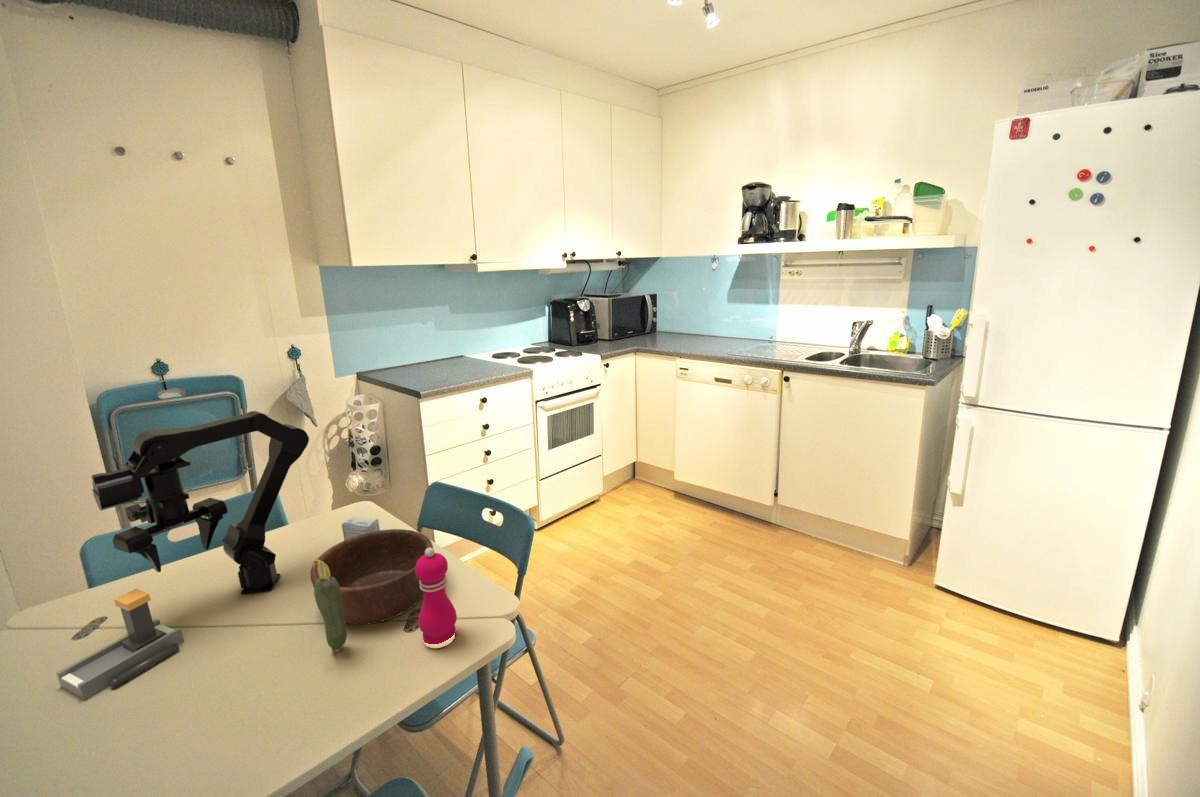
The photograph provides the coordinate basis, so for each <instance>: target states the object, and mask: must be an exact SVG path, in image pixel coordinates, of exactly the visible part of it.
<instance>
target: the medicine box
mask: <svg viewBox="0 0 1200 797" xmlns="http://www.w3.org/2000/svg"><path fill="white" fill-rule="evenodd" d="M379 522H380V521H379V518H374V517H364V516H354V515H353V516H351V517H349V518H348V519H346V520H345V521H344V522H342V523H341V529H342V530H341V531H342V536H343V541H345V540H347V539H350V538H352V537H355V536H358V535H362V534H365V533H369V532H374V531H380V530H381V529H380V524H379Z"/></svg>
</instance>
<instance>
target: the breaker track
mask: <svg viewBox="0 0 1200 797" xmlns="http://www.w3.org/2000/svg"><path fill="white" fill-rule="evenodd" d="M153 624H154V628H156V629H158V630H160V631H163V632H165V634H166V635H164V636H163V637H161V638H159V639H157V640H156V641H154V642H152V643H150V644H148V645H147V646H145V647H143V648H141V649H140V650H138V651H136V652H134V651H132V650H130V649H128V648H126V647H124V646H122V645H121V642H122V641H124V640H126V639H128V638H129V636H128V634H127V635H125V636H122V637H121V638H119V639H117V640H115V641H113V642H112V643H109V644H108V645H106V646H103V647H102V648H100V649H98V650H97V651H94V652H93V653H90V654H89V655H87V656H86V657H83V658H82V659H80V660H77V661H76V662H74V663H72V664H70V665H69V666H66V667H65V668H63V669H61V670H58V671H57V672H56V675H57V676H56V677H57V679H58V683H59V685H60V687H61V688H62V689H64V690H66V691H67V692H69V693H71V694H73V695H75V696H77V697H78V698H79V699H82V700H83V701H86V700H88V699H90V698H91V697H93V696H94V695H96V694H98V693H99V692H101V691H103V690H104V689H106V688H108V687H110V688H112V689H113V688H117V687H120V686H121V685H123V684H125V683H126V682H129V681H130V680H131V679H133V678H134V677H136V676H138V675H139V674H142V673H143V672H145V671H146V670H148V669H149V668H152V667H153V666H155V665H156V664H157V663H159V662H161V661H163V660H164V659H166V658H168V657H170V656H171V655H173V654H174V653H177V652H178V651H179V650H180V647H179V645H180V643H181V644H182V643H184V642H185V641H184V637H183V633H182V630H181V629H182V628H180V627H177V628H175V629H174V628H171V627H168V626H166V625H164V624H161V621H160V619H158V618H156V619H155V620H153ZM92 695H93V696H92Z"/></svg>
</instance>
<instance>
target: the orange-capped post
mask: <svg viewBox="0 0 1200 797" xmlns="http://www.w3.org/2000/svg"><path fill="white" fill-rule="evenodd" d="M151 600H152V599H151V596H150V593H148V592H146V591H143V590H140V589H137V588H135V589H132V590H130V591H128V592H126V593H124V594H123V595H120V596H118V597H115V598H114V599H113V601H114V604H115V607H117V608H120V611H121V615H122V618H123V622H124V625H125V628H126V632H127V635H128V636H129V638H128V639H126V640H124V641H122V642H121V645H122V646H124V647H126V648H128V649H130V650H132V651H134V652H136V651H138V650H140V649H141V648H143V647H145V646H147V645H148V644H150V643H152V642H154V641H156V640H157V639H159V638H161V637H163V636H164V635H166V634H165V632H163V631H160V630H158V629H156V628H154V624H153V621H154V620H153V617H152V614H151V610H150V607H149V602H150V601H151Z"/></svg>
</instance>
